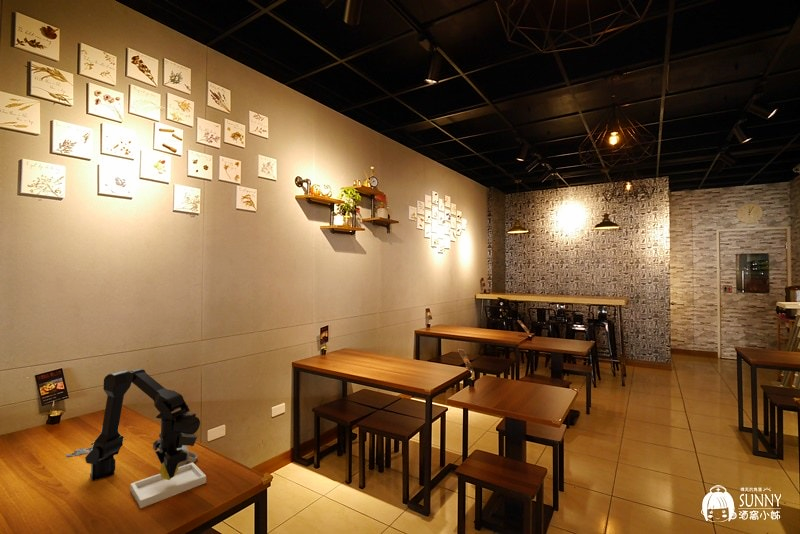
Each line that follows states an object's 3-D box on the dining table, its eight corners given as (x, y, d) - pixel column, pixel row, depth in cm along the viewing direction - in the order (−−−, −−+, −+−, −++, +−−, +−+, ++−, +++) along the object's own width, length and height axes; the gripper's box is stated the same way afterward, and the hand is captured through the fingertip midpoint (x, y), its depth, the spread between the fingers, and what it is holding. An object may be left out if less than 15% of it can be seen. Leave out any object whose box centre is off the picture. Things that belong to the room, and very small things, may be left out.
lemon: (165, 475, 132) (165, 453, 133) (181, 475, 133) (181, 453, 133) (156, 484, 127) (157, 461, 127) (172, 484, 127) (173, 461, 128)
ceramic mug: (168, 472, 139) (169, 451, 140) (165, 463, 146) (166, 444, 146) (199, 463, 146) (200, 444, 146) (195, 455, 152) (195, 437, 153)
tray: (140, 508, 118) (140, 500, 118) (130, 490, 127) (130, 483, 127) (206, 482, 132) (206, 475, 132) (192, 468, 142) (192, 462, 142)
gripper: (203, 431, 130) (202, 475, 130) (186, 417, 142) (185, 457, 142) (168, 441, 122) (166, 488, 121) (153, 425, 134) (151, 467, 134)
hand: (169, 474), depth 130 cm, fingers closed on lemon, 5 cm apart
